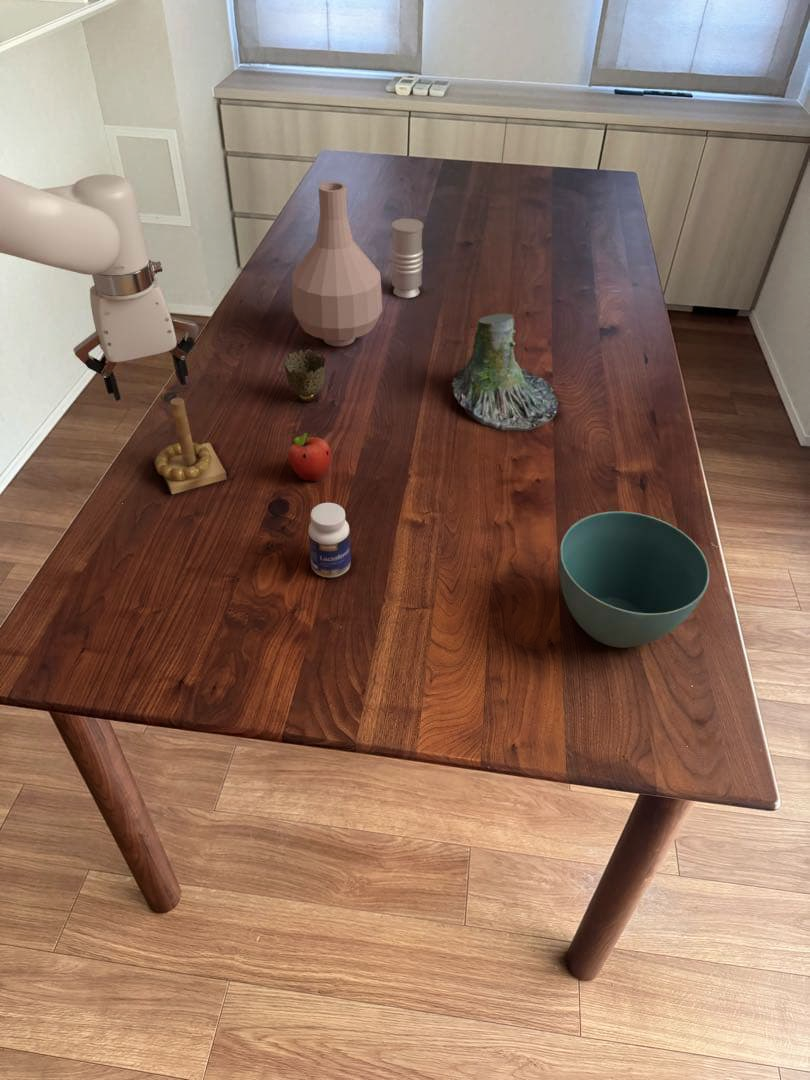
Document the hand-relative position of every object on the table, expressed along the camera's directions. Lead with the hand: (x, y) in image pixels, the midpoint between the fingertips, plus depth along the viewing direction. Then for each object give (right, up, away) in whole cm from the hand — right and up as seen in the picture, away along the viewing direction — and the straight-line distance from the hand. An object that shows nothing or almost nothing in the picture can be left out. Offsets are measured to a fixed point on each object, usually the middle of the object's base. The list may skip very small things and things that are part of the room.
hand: (149, 388), depth 117 cm
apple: (+23, -12, +12) cm, 28 cm away
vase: (+24, +19, +45) cm, 55 cm away
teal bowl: (+66, -34, -10) cm, 75 cm away
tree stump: (+56, +3, +29) cm, 63 cm away
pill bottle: (+27, -26, -3) cm, 38 cm away
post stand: (+3, -11, +13) cm, 17 cm away
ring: (+2, -10, +11) cm, 15 cm away
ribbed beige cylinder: (+38, +33, +61) cm, 79 cm away
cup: (+20, +3, +29) cm, 35 cm away
